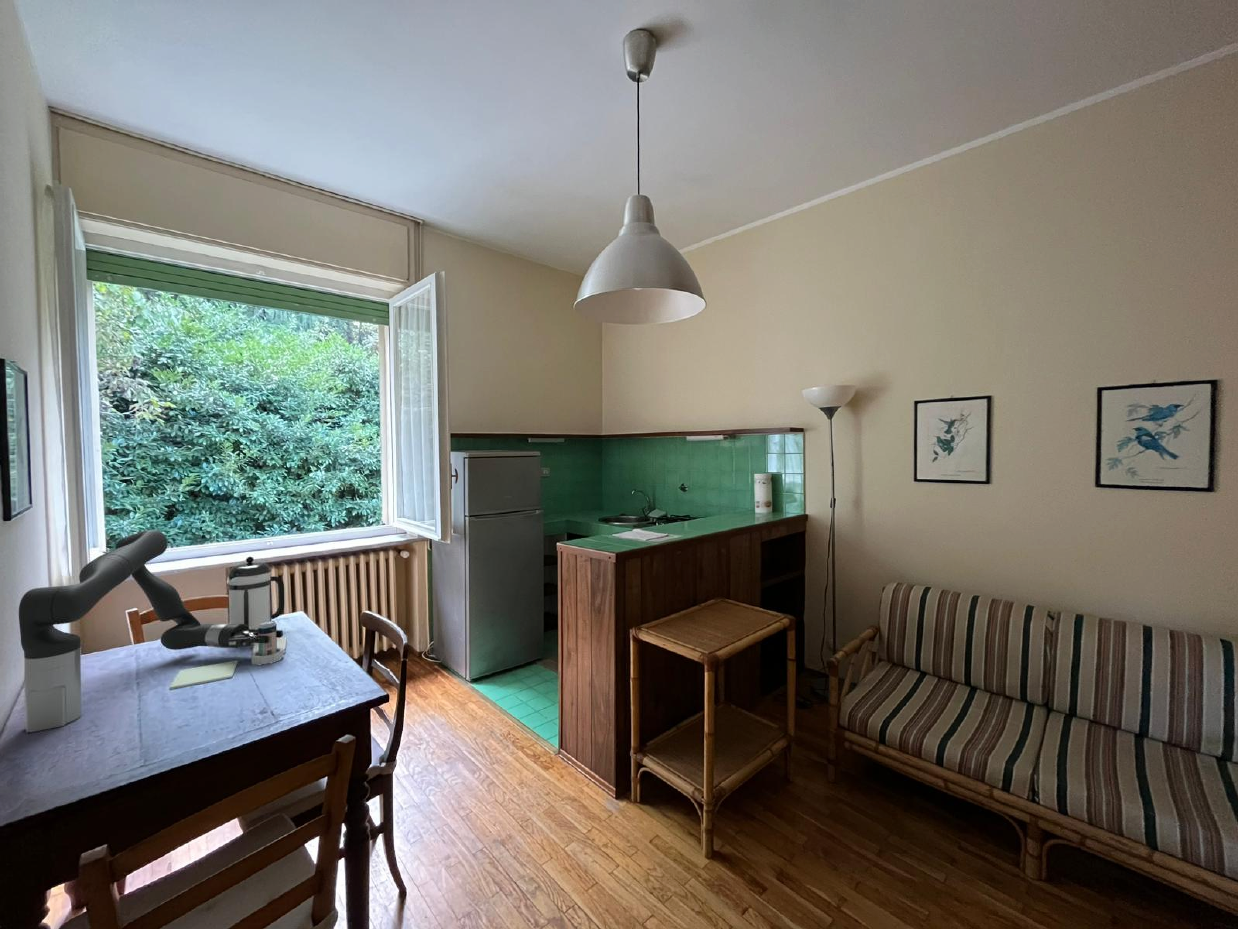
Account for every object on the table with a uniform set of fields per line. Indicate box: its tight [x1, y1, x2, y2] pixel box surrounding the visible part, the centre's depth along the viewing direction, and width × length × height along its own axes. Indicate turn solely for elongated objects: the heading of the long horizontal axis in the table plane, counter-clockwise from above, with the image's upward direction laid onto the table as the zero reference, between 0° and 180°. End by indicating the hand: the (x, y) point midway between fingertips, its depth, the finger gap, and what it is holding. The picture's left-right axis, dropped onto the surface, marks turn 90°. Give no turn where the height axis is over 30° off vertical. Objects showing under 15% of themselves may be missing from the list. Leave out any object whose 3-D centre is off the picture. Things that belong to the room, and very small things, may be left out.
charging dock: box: [251, 636, 287, 665], centre depth 166 cm, size 22×9×2 cm, turn 32°
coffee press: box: [226, 556, 285, 629], centre depth 182 cm, size 17×16×30 cm
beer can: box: [258, 620, 278, 656], centre depth 161 cm, size 5×5×12 cm
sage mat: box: [168, 660, 239, 690], centre depth 149 cm, size 14×14×1 cm
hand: (275, 636), depth 160 cm, fingers closed on beer can, 4 cm apart
